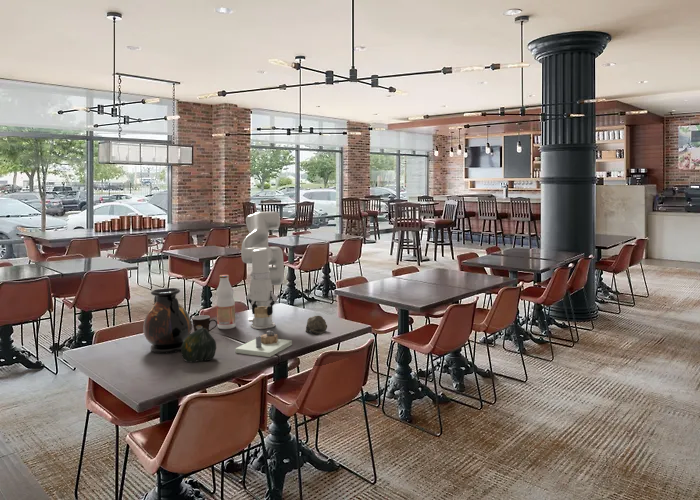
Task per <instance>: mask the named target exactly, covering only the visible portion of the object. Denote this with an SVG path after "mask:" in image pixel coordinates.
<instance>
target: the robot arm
mask: <svg viewBox="0 0 700 500" xmlns="http://www.w3.org/2000/svg"><path fill="white" fill-rule="evenodd" d="M245 225H246V228H247V230H248V233H249V234H248V235H246V236H245V238H244V239H243V240H242V242H241V252H240V253H241V261H242V263H244V264H251V271H250V282H249V283H250V285H249V293H248V294H247V295H246V296H245V298H246V299H247V300H248V303H249V304H250V306H251V311H252V312H251V313H252V315H253V317H249V318H248V322H250V323H252V324H251V328H252V329H255V330H267V329H272V328H274V327H276V322H275V321H273V310H274V309H273V306H274V305H275V304H276V303H277V301H278V300H279V298H278V296H277V295H275V294H274V292H273V286H280V285H282V284H284V282H285V269H284V268H285V266H284V265H285V263H284V252H283V250H282V248H281V247H280V246H269V230H271V231H274V230H275V231H276V230H278V229H279V228H280V225H281V217H280V214H279V212H277V211H256V212H254V213H252V214H249V215H246V218H245ZM272 265H273V266H272ZM270 266H271V267H270ZM259 306H268V307H267V313H268V315H270V317H266V318H255V311H254V309H255V307H259Z"/></svg>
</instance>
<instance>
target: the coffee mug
mask: <svg viewBox="0 0 700 500" xmlns="http://www.w3.org/2000/svg"><path fill="white" fill-rule="evenodd" d="M191 322H192V325H193V326H192V327H193V332H194V331H196V330H198V329H201V328H205V329H207V330H208V332H209V333H210V332H211V331H212V330H214V329H215V328H216V327H218V325H217V319H211V316H210V315H208V314H207V315H206V314H205V315H204V314H203V315H202V314H201V315H195V316H193V317H191ZM211 322H215V326H213V327H211V329H210V324H211Z"/></svg>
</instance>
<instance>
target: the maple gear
mask: <svg viewBox="0 0 700 500" xmlns="http://www.w3.org/2000/svg"><path fill="white" fill-rule="evenodd" d="M267 307H268V306H259V307H255V309H254V311H255V318H266V317H270V315H268V313H267Z"/></svg>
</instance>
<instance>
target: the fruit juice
mask: <svg viewBox="0 0 700 500" xmlns="http://www.w3.org/2000/svg"><path fill="white" fill-rule="evenodd" d="M218 277H219V284H218V286H217V288H216V291H215V295H216V298H217V299H216V304H215V305H216V306H215V307H216V317H217V318H216V321H217V329H220V330H230V329H234V328H235V327H236V308H235V306H236V305H235V304H236V303H235V298H234V293H235V291H234V288H233V287H232V285H231V283H230V280H229V279H230V275H229V274H220V275H219V276H218Z"/></svg>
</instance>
